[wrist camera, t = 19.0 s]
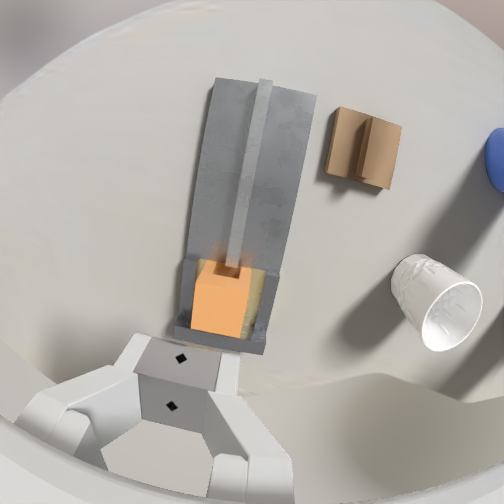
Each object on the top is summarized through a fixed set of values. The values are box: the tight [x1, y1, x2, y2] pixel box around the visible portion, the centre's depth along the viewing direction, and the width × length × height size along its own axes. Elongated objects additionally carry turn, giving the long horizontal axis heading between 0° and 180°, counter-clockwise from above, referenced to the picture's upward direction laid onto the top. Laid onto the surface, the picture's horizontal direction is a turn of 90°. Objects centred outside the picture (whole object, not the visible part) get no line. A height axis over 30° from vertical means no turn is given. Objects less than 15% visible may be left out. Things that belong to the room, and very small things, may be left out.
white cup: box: [391, 254, 482, 352], centre depth 28 cm, size 8×8×10 cm
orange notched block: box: [191, 261, 251, 338], centre depth 29 cm, size 5×5×6 cm
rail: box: [173, 78, 317, 355], centre depth 29 cm, size 10×28×4 cm, turn 170°
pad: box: [324, 107, 402, 190], centre depth 26 cm, size 7×7×4 cm
